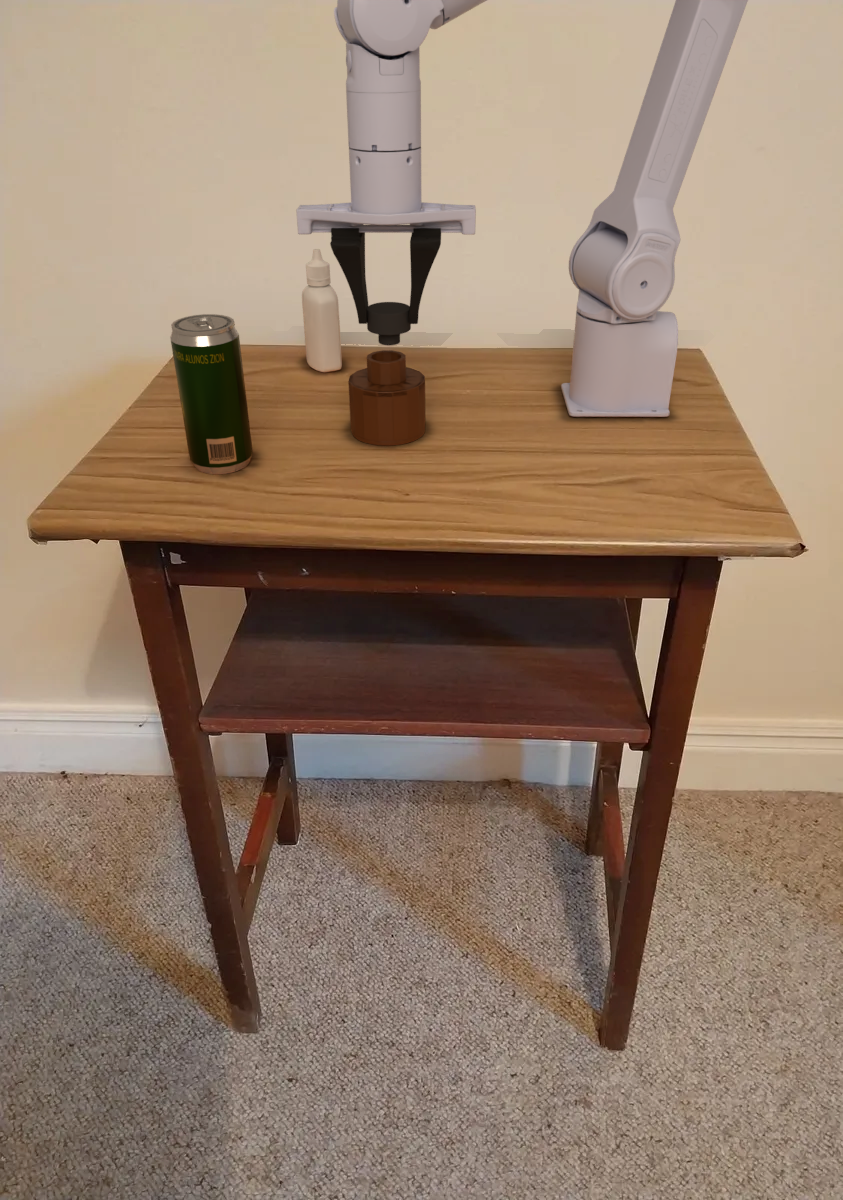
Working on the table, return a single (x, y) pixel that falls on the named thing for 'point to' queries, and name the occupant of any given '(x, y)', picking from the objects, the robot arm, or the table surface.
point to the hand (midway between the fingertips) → (389, 320)
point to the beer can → (212, 392)
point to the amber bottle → (387, 400)
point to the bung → (388, 321)
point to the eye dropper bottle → (321, 317)
